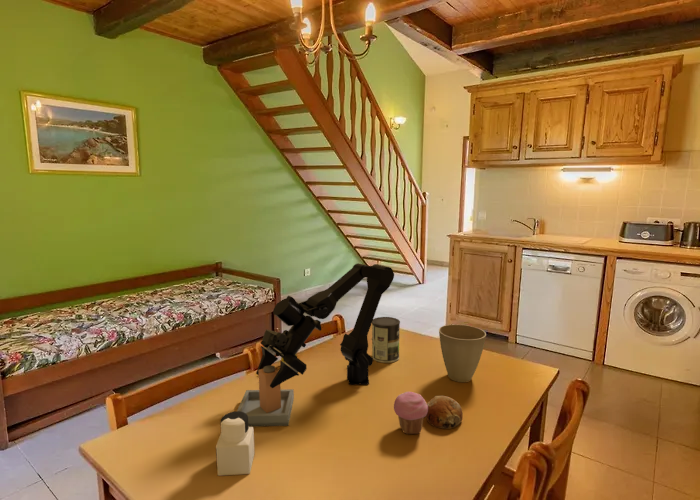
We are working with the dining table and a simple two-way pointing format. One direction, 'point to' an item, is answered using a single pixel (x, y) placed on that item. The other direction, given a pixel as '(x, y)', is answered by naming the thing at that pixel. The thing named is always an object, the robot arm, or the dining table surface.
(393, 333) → the coffee can
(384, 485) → the dining table surface
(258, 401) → the tray
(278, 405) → the block
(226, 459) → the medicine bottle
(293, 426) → the dining table surface
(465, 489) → the dining table surface
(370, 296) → the robot arm
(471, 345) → the plant pot
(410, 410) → the cupcake
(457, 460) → the dining table surface
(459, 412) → the bread roll
